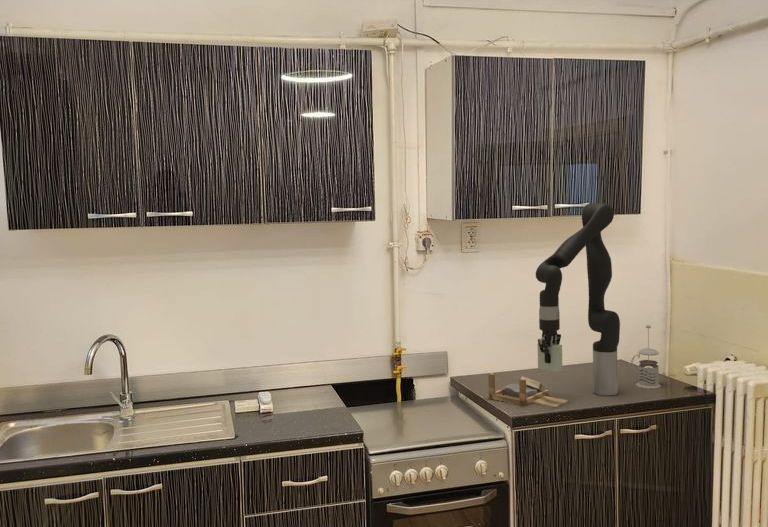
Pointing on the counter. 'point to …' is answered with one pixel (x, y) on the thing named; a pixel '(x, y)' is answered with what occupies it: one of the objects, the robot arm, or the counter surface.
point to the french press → (643, 379)
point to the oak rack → (520, 401)
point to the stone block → (518, 391)
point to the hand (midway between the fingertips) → (549, 361)
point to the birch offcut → (533, 384)
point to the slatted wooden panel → (550, 401)
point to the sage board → (555, 359)
